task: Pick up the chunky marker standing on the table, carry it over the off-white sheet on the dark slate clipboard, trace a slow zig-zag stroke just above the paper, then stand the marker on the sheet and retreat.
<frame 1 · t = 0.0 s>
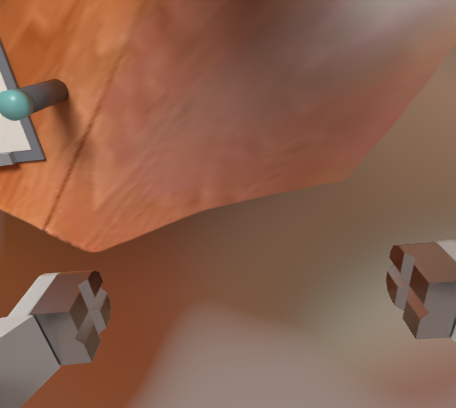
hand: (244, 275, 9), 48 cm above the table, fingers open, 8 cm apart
marker: (57, 90, 53), on the table
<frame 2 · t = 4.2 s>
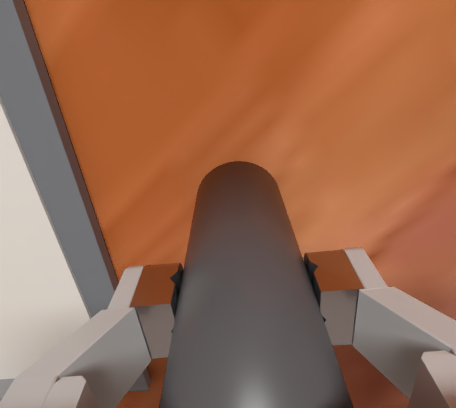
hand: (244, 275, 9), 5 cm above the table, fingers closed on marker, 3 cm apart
marker: (238, 200, 13), on the table, touching gripper
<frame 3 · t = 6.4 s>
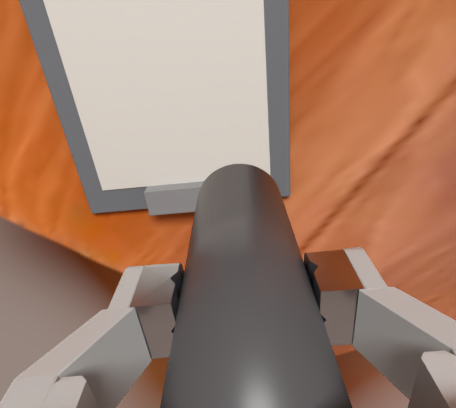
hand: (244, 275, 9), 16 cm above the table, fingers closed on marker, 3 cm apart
marker: (239, 202, 13), point 12 cm above the table, touching gripper
clipboard: (164, 53, 21), on the table
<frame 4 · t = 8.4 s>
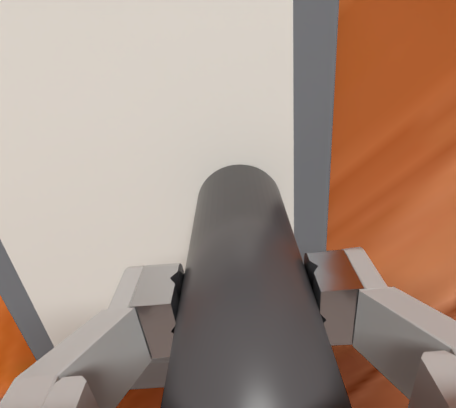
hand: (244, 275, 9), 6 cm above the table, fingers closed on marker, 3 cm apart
marker: (239, 203, 13), point 1 cm above the table, touching gripper
clipboard: (140, 188, 14), on the table
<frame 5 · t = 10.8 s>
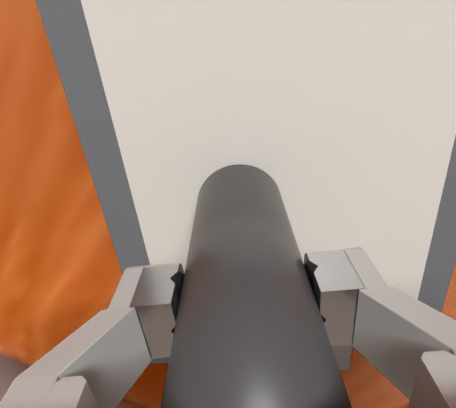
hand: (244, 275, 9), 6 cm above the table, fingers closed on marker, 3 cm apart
marker: (239, 203, 13), point 1 cm above the table, touching gripper
clipboard: (284, 172, 14), on the table
when the fingers open (6 cm above the table, at t = 12.7 s): marker stays where it is, resting on clipboard.
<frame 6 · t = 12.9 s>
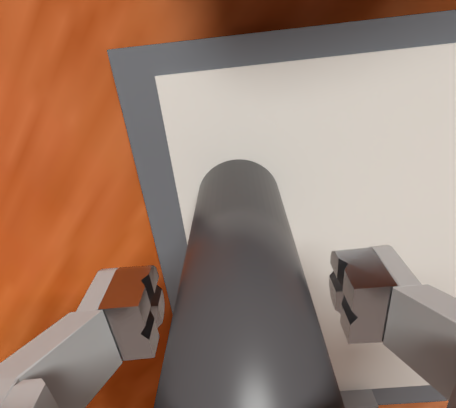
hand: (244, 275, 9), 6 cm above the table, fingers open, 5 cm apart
marker: (238, 197, 14), point 1 cm above the table, touching clipboard
clipboard: (323, 269, 17), on the table
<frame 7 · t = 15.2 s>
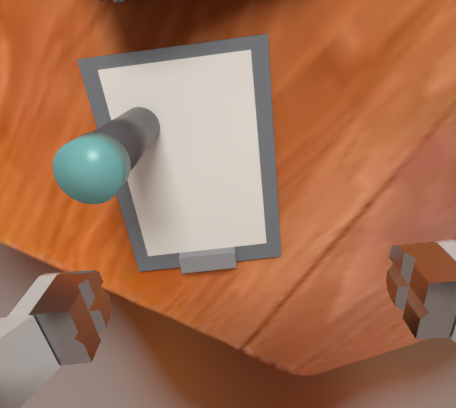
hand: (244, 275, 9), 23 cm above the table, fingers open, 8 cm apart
marker: (141, 126, 29), point 1 cm above the table, touching clipboard
clipboard: (193, 169, 32), on the table
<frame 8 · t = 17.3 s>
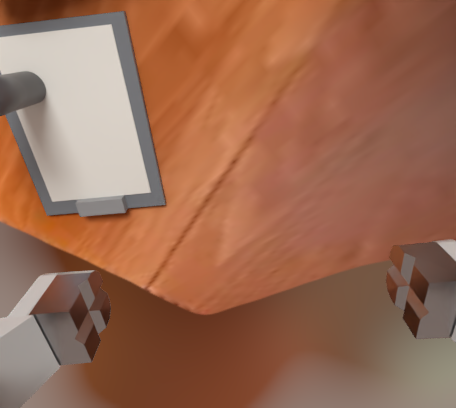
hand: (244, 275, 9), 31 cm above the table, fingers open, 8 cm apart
marker: (30, 87, 36), point 1 cm above the table, touching clipboard
clipboard: (81, 126, 38), on the table
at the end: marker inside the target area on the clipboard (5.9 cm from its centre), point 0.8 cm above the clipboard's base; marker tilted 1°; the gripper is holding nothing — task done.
